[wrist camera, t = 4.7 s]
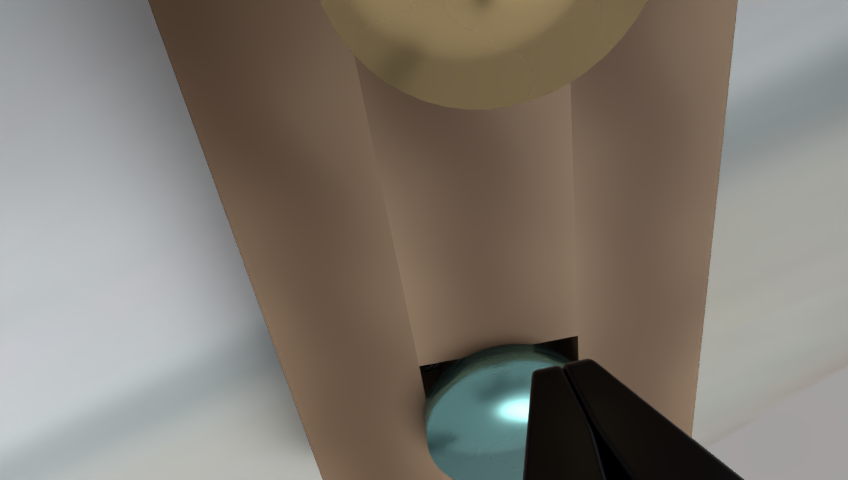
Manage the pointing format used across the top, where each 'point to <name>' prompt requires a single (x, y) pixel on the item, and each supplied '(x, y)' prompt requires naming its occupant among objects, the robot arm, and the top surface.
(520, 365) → the plunger teal
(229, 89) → the walnut block
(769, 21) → the top surface
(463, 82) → the plunger ochre
